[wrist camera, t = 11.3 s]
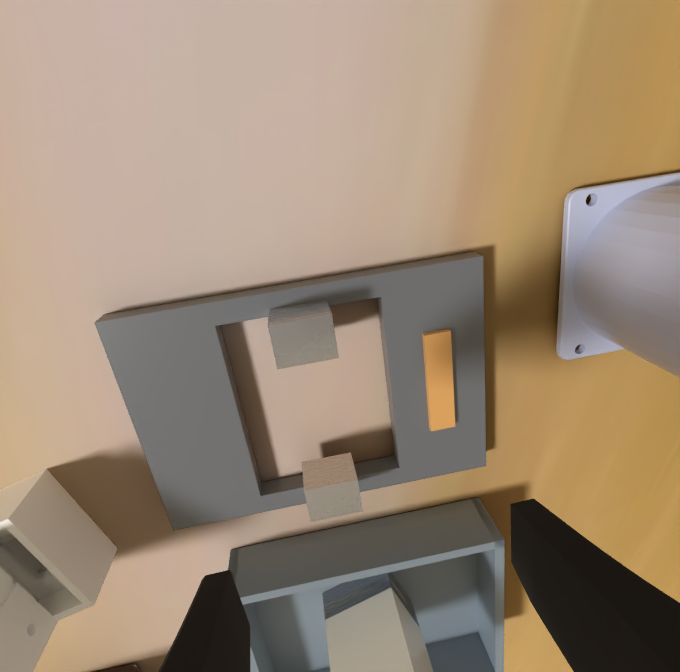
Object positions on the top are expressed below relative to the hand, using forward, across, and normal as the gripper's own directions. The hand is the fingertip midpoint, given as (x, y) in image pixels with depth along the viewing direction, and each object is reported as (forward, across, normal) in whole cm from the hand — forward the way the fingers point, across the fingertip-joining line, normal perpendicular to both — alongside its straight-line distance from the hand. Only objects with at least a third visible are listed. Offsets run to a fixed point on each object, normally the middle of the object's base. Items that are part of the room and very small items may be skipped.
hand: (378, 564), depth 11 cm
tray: (+10, 0, +15) cm, 18 cm away
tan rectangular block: (+10, 0, +14) cm, 17 cm away
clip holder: (+10, +1, +1) cm, 10 cm away
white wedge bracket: (+11, +15, +5) cm, 19 cm away
